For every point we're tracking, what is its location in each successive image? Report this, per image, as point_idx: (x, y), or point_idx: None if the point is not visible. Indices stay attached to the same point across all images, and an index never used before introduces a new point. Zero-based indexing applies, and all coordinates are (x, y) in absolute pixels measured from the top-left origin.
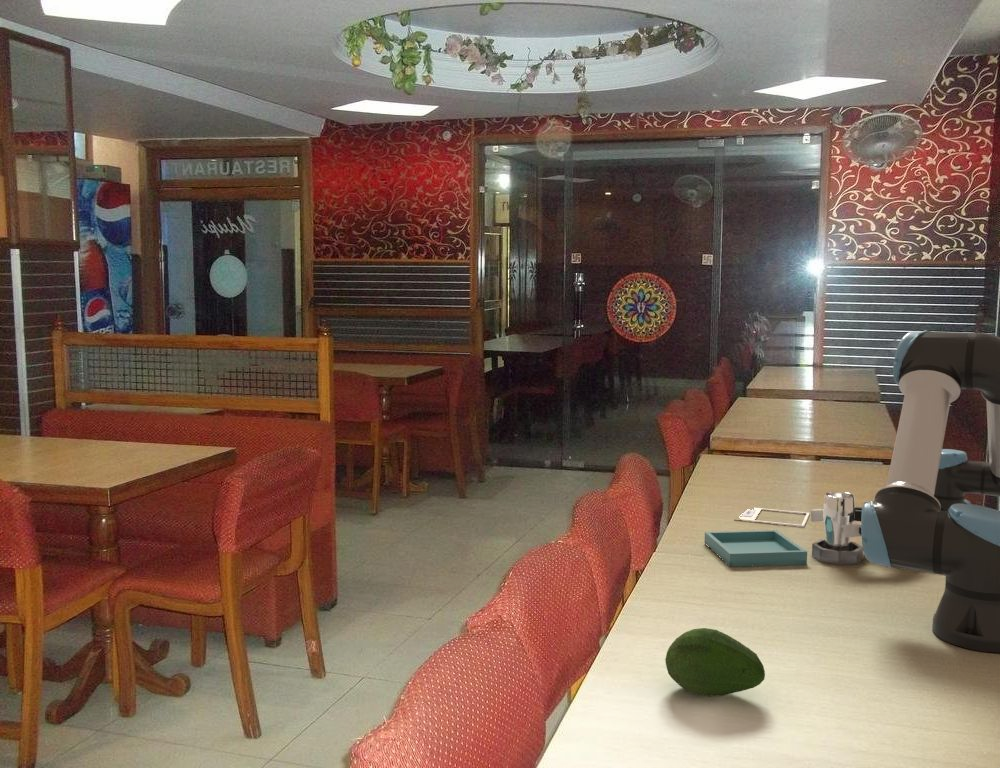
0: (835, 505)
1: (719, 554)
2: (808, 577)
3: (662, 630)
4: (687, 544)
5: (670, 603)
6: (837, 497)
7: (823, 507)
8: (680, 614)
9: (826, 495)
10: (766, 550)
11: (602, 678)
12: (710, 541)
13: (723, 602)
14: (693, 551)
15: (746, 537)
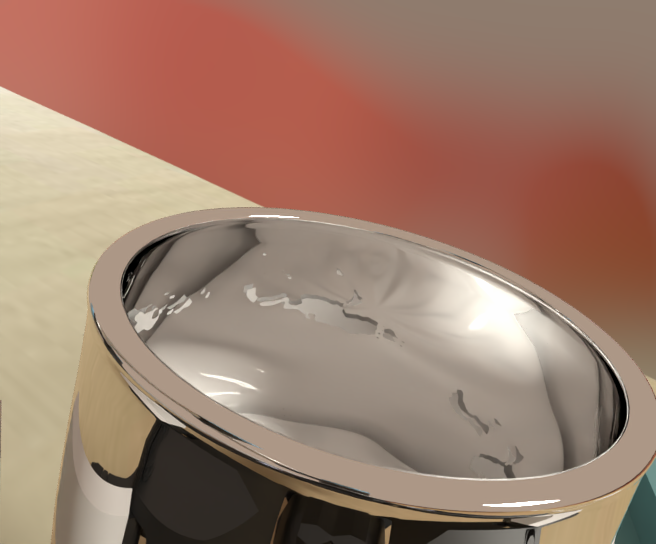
0: (221, 305)
1: None
2: (46, 416)
3: (60, 142)
4: None
5: (152, 184)
6: (229, 208)
7: (405, 394)
8: (94, 168)
9: (387, 227)
10: None
11: (3, 92)
12: None
13: (84, 208)
14: None
15: (638, 509)
